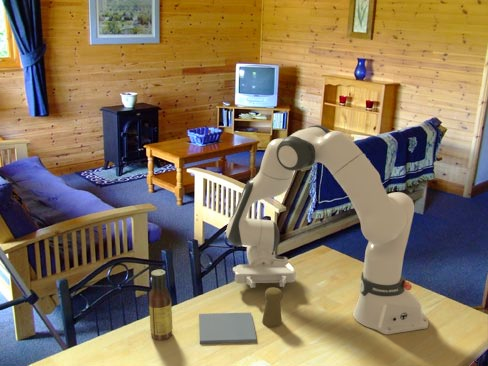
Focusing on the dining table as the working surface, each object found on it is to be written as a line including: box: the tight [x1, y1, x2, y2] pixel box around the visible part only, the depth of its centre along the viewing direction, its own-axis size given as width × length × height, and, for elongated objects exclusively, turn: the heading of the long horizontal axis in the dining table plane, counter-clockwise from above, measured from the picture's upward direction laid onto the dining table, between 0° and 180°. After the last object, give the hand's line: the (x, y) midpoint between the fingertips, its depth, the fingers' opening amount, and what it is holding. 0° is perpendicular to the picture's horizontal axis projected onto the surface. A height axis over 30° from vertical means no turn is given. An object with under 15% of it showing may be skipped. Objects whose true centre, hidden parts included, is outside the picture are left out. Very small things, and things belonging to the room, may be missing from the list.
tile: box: [198, 312, 257, 345], centre depth 157 cm, size 16×14×1 cm
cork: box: [261, 286, 283, 329], centre depth 160 cm, size 6×6×11 cm
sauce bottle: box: [148, 269, 173, 341], centre depth 150 cm, size 6×6×20 cm
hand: (267, 285), depth 171 cm, fingers open, 8 cm apart
